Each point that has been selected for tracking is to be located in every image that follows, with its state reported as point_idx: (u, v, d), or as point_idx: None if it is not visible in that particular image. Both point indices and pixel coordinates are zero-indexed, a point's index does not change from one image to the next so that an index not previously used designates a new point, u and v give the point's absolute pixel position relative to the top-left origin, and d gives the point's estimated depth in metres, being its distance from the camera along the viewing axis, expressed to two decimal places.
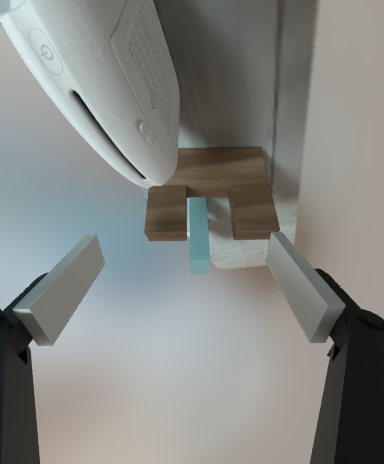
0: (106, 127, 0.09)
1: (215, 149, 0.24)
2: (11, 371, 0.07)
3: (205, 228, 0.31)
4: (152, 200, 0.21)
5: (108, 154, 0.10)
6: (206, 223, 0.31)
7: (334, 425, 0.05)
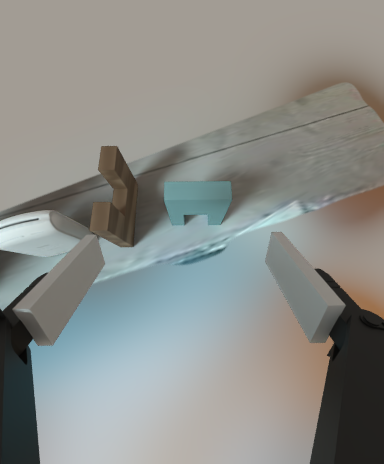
0: (4, 222, 0.26)
1: None
2: (11, 371, 0.07)
3: None
4: None
5: (14, 226, 0.26)
6: None
7: (334, 425, 0.05)
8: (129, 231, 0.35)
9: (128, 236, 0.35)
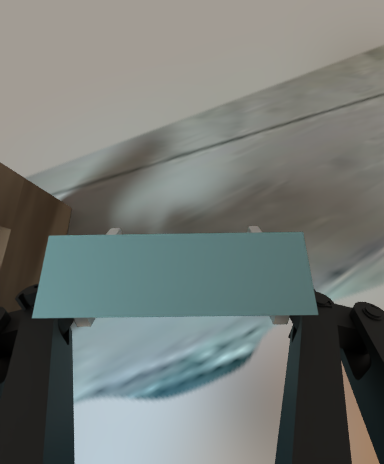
0: None
1: None
2: (56, 350, 0.07)
3: None
4: None
5: None
6: None
7: (293, 402, 0.06)
8: None
9: None
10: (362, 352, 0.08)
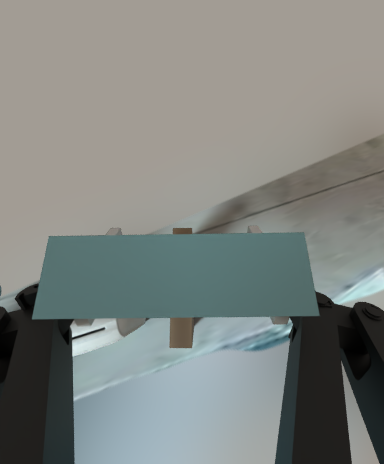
0: None
1: None
2: (56, 350, 0.07)
3: None
4: None
5: (78, 341, 0.21)
6: None
7: (293, 402, 0.06)
8: None
9: (193, 321, 0.30)
10: (362, 352, 0.08)
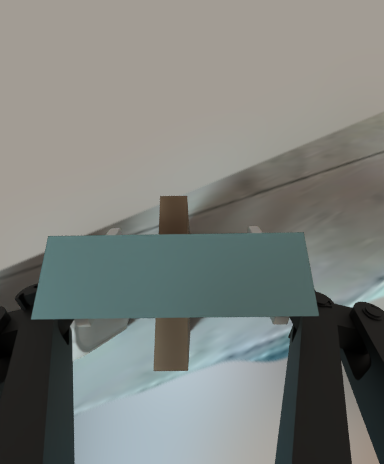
0: None
1: None
2: (56, 350, 0.07)
3: None
4: None
5: None
6: None
7: (293, 402, 0.06)
8: None
9: None
10: (362, 352, 0.08)
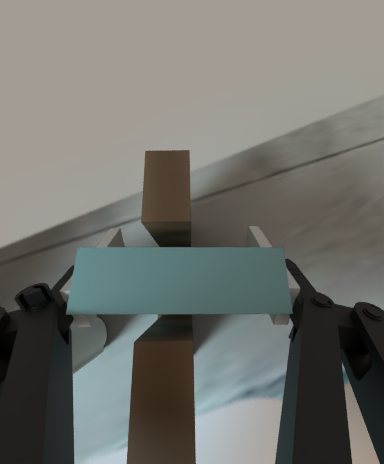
0: None
1: None
2: (56, 350, 0.07)
3: None
4: None
5: None
6: None
7: (293, 402, 0.06)
8: None
9: None
10: (362, 353, 0.08)
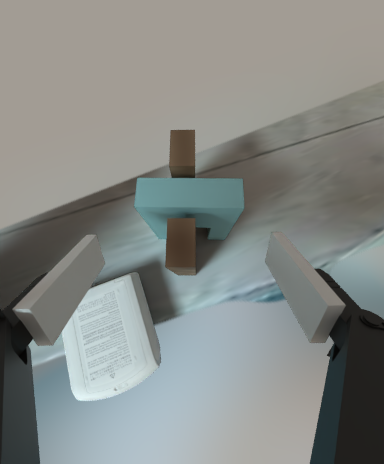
0: (116, 394, 0.21)
1: None
2: (11, 371, 0.07)
3: None
4: None
5: None
6: None
7: (334, 425, 0.05)
8: None
9: None
10: None
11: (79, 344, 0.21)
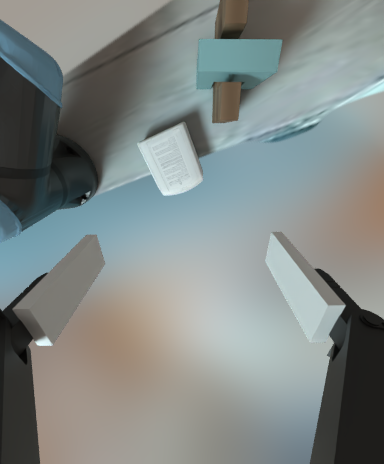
0: (181, 192, 0.41)
1: None
2: (11, 371, 0.07)
3: None
4: (217, 117, 0.30)
5: None
6: None
7: (334, 425, 0.05)
8: None
9: None
10: None
11: (159, 168, 0.37)
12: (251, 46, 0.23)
